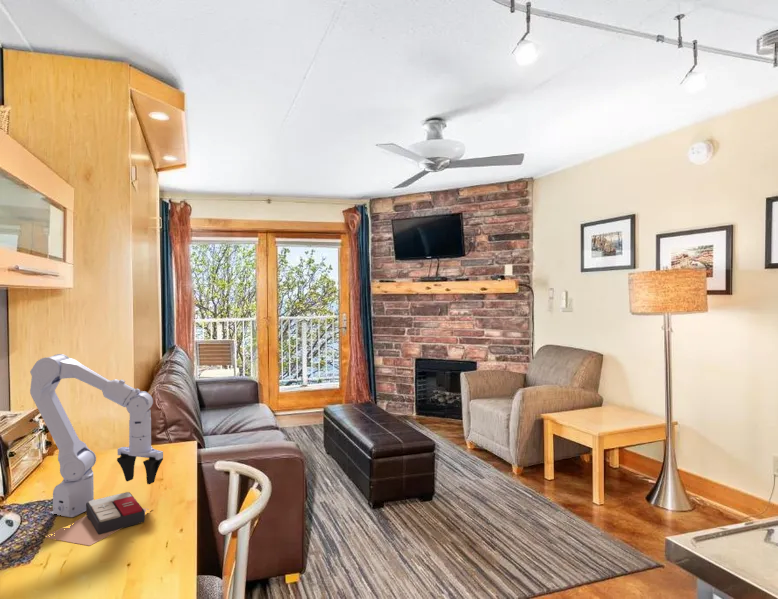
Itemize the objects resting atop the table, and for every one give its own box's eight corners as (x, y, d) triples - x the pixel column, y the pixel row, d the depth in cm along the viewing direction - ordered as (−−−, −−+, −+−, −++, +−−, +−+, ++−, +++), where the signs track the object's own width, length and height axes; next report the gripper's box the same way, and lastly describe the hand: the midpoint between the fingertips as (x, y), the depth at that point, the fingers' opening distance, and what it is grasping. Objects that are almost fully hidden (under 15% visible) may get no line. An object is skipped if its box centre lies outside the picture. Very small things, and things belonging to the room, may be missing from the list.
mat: (89, 547, 120) (89, 545, 120) (42, 539, 125) (42, 537, 125) (154, 511, 140) (154, 509, 140) (111, 505, 145) (111, 503, 145)
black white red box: (98, 520, 125) (85, 499, 137) (98, 537, 126) (85, 515, 137) (145, 508, 133) (129, 489, 144) (145, 524, 133) (129, 503, 144)
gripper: (170, 433, 147) (170, 479, 147) (130, 429, 151) (130, 474, 151) (152, 439, 140) (152, 488, 140) (111, 435, 145) (111, 482, 145)
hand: (140, 481), depth 145 cm, fingers open, 7 cm apart
